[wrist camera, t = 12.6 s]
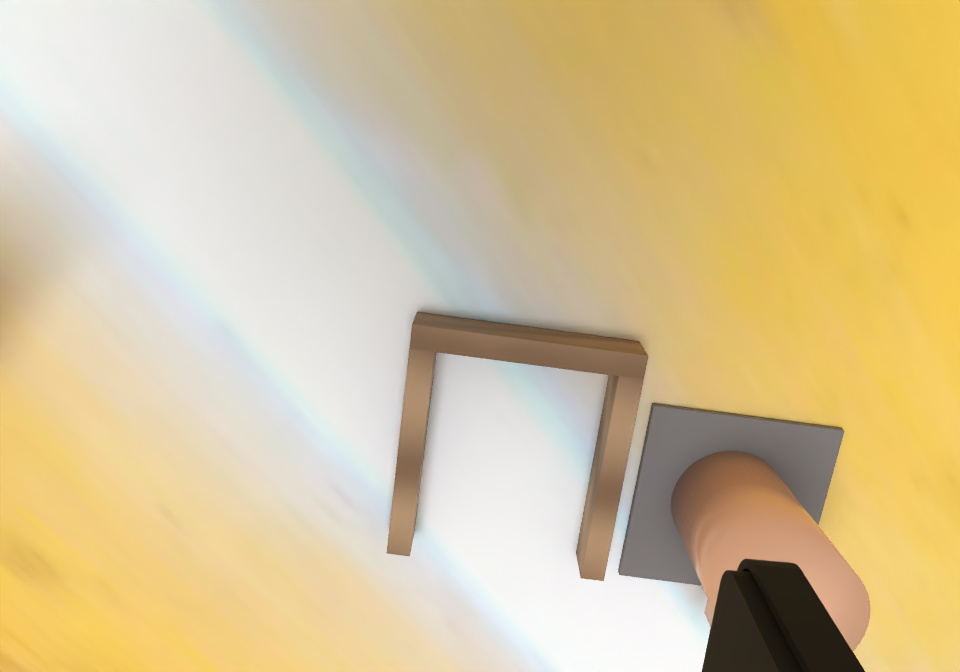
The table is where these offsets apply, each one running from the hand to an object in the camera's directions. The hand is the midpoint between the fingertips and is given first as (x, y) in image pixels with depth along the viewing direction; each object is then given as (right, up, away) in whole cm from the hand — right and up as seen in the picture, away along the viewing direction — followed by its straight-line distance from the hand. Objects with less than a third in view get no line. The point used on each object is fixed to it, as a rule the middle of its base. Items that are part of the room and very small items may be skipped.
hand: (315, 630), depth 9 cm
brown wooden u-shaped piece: (+4, -2, +33) cm, 33 cm away
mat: (+15, -6, +33) cm, 37 cm away
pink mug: (+15, -7, +33) cm, 37 cm away
